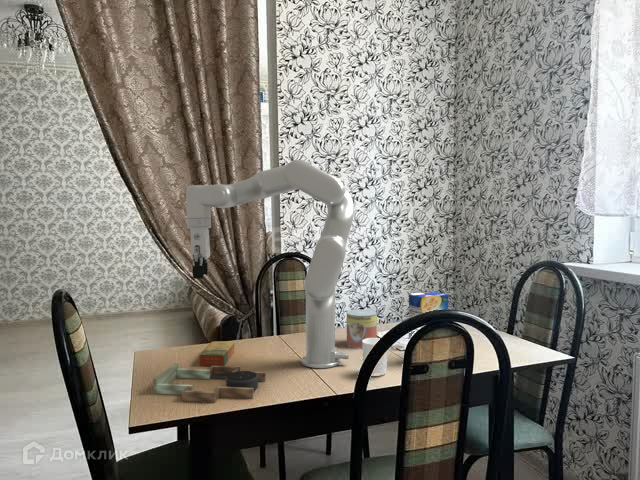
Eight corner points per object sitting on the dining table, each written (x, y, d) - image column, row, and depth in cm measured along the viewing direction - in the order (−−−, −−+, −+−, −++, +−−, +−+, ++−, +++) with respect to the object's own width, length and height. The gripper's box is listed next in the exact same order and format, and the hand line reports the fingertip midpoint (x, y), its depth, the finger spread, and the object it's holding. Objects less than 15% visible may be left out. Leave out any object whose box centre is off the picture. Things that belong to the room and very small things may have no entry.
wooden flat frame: (269, 376, 151) (269, 363, 151) (248, 404, 129) (248, 389, 129) (180, 372, 155) (180, 359, 155) (146, 398, 133) (145, 384, 133)
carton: (234, 353, 177) (234, 341, 176) (224, 367, 161) (224, 354, 160) (211, 352, 177) (211, 340, 177) (198, 367, 161) (198, 353, 161)
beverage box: (408, 359, 168) (408, 293, 166) (434, 354, 172) (435, 291, 171) (420, 364, 161) (421, 297, 160) (447, 360, 166) (448, 294, 165)
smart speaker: (222, 394, 137) (222, 380, 136) (230, 383, 146) (230, 369, 145) (254, 395, 136) (254, 380, 136) (260, 383, 145) (260, 370, 145)
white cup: (381, 379, 148) (381, 345, 147) (357, 374, 152) (357, 342, 152) (392, 371, 155) (392, 339, 154) (369, 367, 159) (369, 336, 158)
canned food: (341, 346, 183) (341, 314, 182) (352, 339, 193) (352, 308, 193) (371, 350, 179) (371, 316, 178) (380, 342, 189) (380, 310, 188)
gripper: (207, 224, 154) (208, 279, 155) (214, 222, 171) (215, 272, 172) (182, 224, 153) (183, 280, 154) (191, 223, 170) (193, 273, 171)
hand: (200, 276), depth 163 cm, fingers open, 9 cm apart
